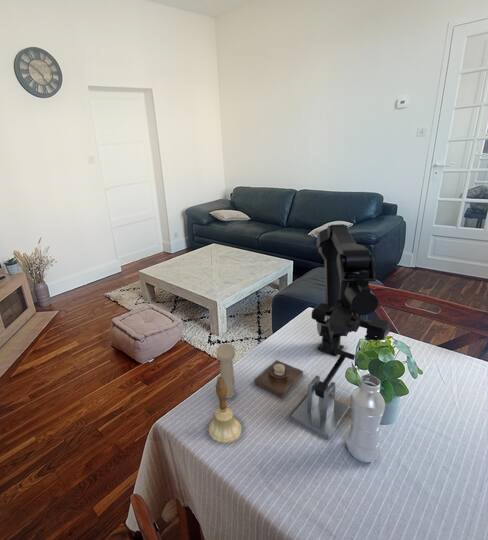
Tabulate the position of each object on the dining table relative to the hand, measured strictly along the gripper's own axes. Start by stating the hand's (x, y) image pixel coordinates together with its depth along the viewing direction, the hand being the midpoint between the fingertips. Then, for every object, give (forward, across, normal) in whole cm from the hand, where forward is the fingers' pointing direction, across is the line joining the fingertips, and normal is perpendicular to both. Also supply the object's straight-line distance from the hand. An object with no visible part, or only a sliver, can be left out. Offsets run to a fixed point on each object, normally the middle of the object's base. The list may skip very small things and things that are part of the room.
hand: (346, 347), depth 92 cm
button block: (+12, -15, -10) cm, 22 cm away
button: (+9, -15, -10) cm, 20 cm away
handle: (+12, -23, -24) cm, 36 cm away
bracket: (+12, 0, -15) cm, 19 cm away
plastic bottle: (+12, +12, -20) cm, 27 cm away
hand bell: (+12, -16, -34) cm, 40 cm away
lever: (+4, 0, -8) cm, 9 cm away
